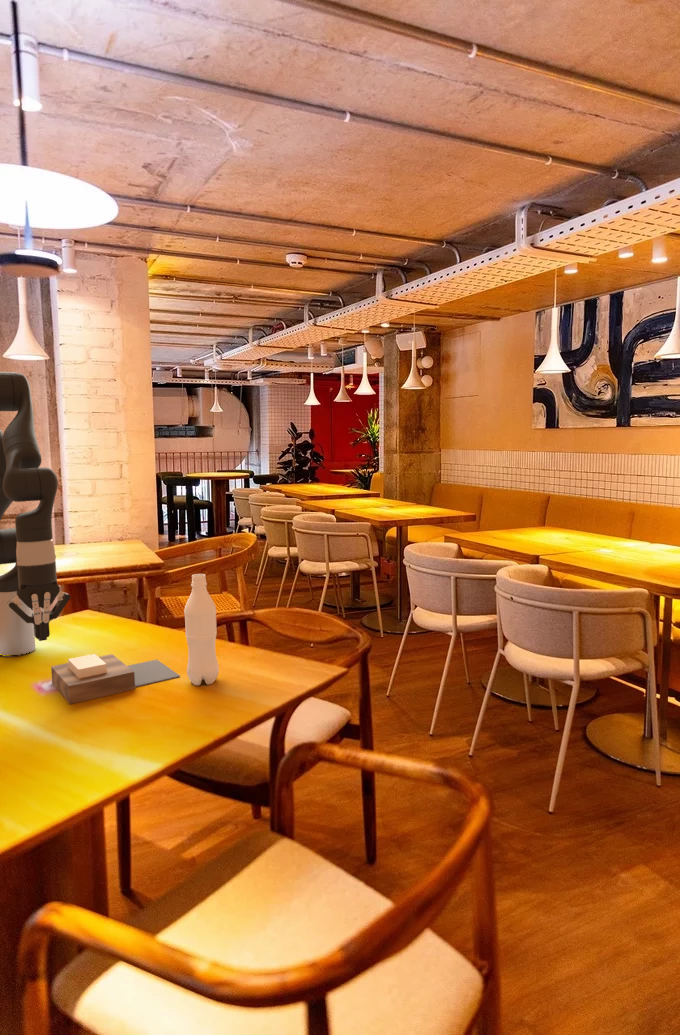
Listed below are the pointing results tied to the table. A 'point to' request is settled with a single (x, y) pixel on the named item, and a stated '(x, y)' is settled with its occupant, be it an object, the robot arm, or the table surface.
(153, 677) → the mat
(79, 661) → the white flat block
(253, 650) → the table surface
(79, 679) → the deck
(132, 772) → the table surface
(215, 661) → the water bottle
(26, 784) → the table surface
